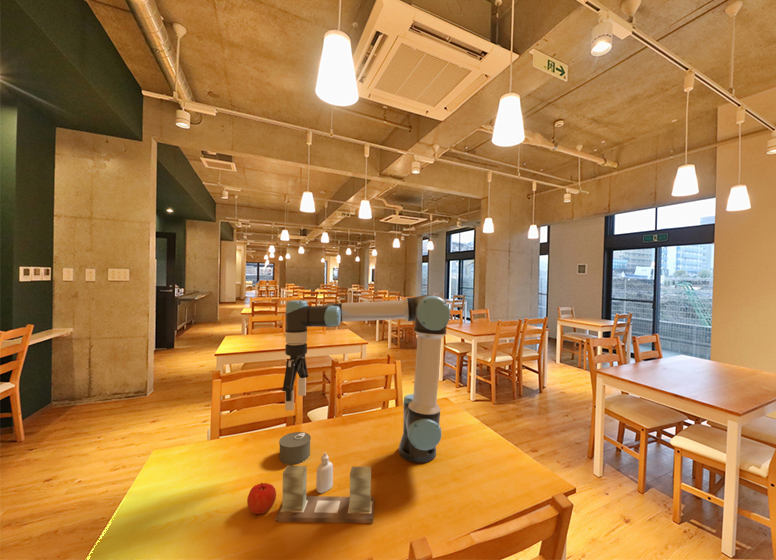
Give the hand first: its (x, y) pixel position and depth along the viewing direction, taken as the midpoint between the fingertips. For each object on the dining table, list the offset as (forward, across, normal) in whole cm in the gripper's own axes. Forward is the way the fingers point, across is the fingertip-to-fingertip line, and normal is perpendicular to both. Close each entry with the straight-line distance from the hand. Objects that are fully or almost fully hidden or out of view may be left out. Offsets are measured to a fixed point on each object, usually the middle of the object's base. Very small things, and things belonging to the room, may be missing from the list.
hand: (296, 402), depth 111 cm
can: (+26, -11, -4) cm, 29 cm away
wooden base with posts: (+26, +17, +15) cm, 35 cm away
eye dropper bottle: (+26, +7, +12) cm, 30 cm away
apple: (+26, +18, -5) cm, 32 cm away
